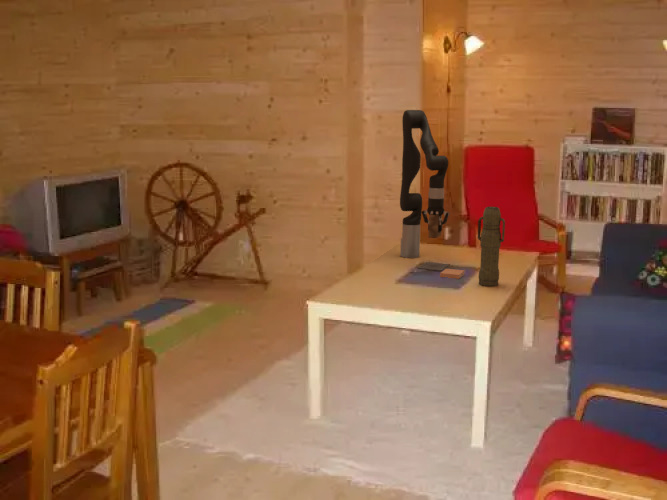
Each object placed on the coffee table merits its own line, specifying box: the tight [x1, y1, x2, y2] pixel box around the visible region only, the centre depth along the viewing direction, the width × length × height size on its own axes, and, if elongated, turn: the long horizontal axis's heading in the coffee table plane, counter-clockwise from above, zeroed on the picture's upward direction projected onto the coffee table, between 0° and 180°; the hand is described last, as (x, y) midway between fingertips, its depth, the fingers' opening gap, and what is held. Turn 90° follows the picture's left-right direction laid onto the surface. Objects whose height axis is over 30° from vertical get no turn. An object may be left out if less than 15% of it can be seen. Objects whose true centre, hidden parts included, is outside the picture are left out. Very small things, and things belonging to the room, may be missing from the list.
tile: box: [439, 268, 465, 280], centre depth 364 cm, size 9×2×10 cm
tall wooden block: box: [428, 214, 442, 239], centre depth 377 cm, size 4×8×11 cm, turn 156°
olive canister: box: [477, 206, 506, 288], centre depth 345 cm, size 9×12×35 cm
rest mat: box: [417, 261, 450, 272], centre depth 381 cm, size 12×14×1 cm
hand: (434, 231), depth 377 cm, fingers closed on tall wooden block, 4 cm apart
